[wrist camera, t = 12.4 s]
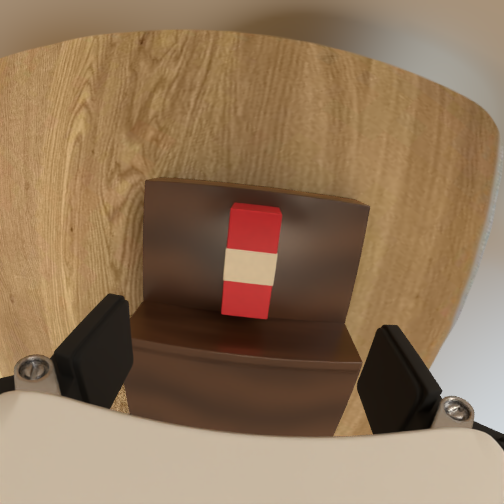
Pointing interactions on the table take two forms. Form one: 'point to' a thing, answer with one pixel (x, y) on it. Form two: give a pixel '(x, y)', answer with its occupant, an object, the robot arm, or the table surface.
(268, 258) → the rectangular block
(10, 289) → the table surface
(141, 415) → the step rack
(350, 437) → the robot arm
